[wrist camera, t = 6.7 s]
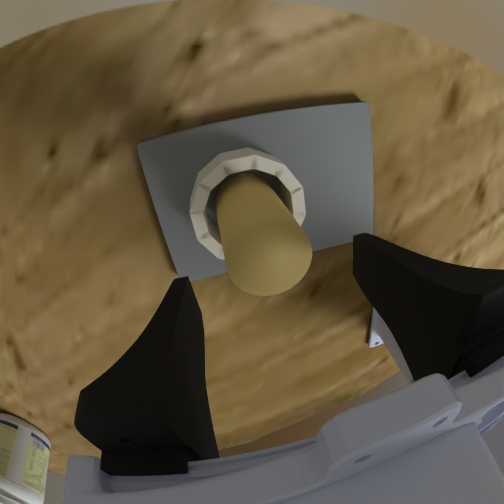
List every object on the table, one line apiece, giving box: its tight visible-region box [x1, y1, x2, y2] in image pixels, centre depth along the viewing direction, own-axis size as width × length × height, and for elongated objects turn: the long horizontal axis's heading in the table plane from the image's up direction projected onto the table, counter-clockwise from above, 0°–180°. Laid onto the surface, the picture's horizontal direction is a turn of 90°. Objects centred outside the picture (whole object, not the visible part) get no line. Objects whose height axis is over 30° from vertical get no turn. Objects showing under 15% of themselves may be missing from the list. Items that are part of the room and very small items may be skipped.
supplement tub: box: [0, 413, 51, 504], centre depth 26 cm, size 12×12×17 cm
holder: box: [136, 101, 374, 282], centre depth 20 cm, size 16×11×4 cm
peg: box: [215, 172, 312, 296], centre depth 17 cm, size 4×4×8 cm
